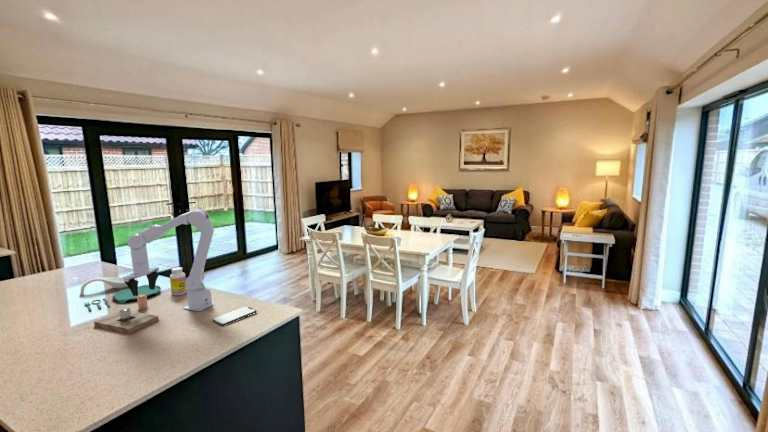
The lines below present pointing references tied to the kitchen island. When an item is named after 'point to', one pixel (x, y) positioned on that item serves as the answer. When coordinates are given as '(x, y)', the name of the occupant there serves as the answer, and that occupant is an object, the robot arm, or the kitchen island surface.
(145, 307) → the terracotta pin
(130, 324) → the wooden board with hole
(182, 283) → the supplement bottle
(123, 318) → the steel pin
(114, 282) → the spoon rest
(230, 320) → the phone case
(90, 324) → the kitchen island surface
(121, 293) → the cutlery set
